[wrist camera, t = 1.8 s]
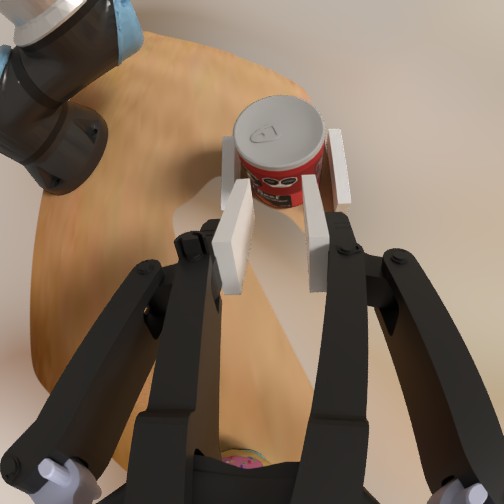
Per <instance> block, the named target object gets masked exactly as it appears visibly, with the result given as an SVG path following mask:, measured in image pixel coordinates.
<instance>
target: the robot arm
mask: <svg viewBox="0 0 504 504" xmlns="http://www.w3.org/2000/svg"><path fill="white" fill-rule="evenodd" d="M0 12H1V13H2V14H3V15H4V16H5V17H7V18H8V19H9V20H10V21H11V22H12V23H14V24H15V33H14V43H15V44H16V45H17V46H16V47H15V48H14V49H11V46H8V45H2V46H0V153H2V154H4V155H5V156H7V157H9V158H11V159H13V160H15V161H17V162H18V163H20V164H22V165H23V166H25V168H26V169H27V170H28V172H29V173H30V174H31V176H32V177H33V178H34V179H35V181H36V182H37V183H38V184H39V186H40V187H42V188H43V189H44V190H46V191H48V192H50V193H52V194H55V195H63V194H66V193H69V192H71V191H73V190H74V189H76V188H77V187H79V186H80V185H81V184H82V183H83V182H84V181H85V180H86V179H87V178H88V177H89V176H90V175H91V173H92V172H93V171H94V169H95V168H96V166H97V165H98V163H99V161H100V159H101V157H102V155H103V153H104V150H105V147H106V144H107V138H108V128H107V124H106V122H105V120H104V119H103V118H102V117H101V116H100V115H99V114H98V113H97V112H96V111H94V110H93V109H91V108H88V107H85V106H82V105H79V104H76V103H73V102H70V101H68V100H69V99H70V98H71V97H73V96H74V95H75V94H77V93H78V92H79V91H81V90H82V89H83V88H85V87H86V86H87V85H89V84H90V83H92V82H93V81H95V80H96V79H97V78H99V77H100V76H102V75H103V74H105V73H106V72H108V71H109V70H111V69H113V68H114V67H116V66H119V65H120V64H121V63H122V61H124V60H125V59H127V58H128V57H130V56H131V55H133V54H135V53H136V52H138V50H140V48H141V47H142V45H143V42H144V36H143V33H142V29H141V27H140V24H139V21H138V18H137V16H136V14H135V11H134V9H133V6H132V4H131V3H130V0H0ZM302 191H303V211H304V225H305V236H306V247H307V260H308V273H309V287H310V293H311V292H327V296H326V306H325V315H324V324H323V332H322V341H321V348H320V356H319V363H318V370H317V377H316V383H315V390H314V396H313V402H312V408H311V413H310V417H309V421H308V426H307V431H306V436H305V441H304V446H303V450H302V455H301V460H300V462H283V463H279V464H274V465H268V466H263V467H257V468H251V469H244V468H240V467H237V466H234V465H231V464H228V463H225V462H223V461H222V456H221V451H220V447H219V380H220V342H221V313H222V300H221V296H220V291H221V287H222V288H223V292H224V295H241V293H242V287H243V282H244V277H245V272H246V266H247V261H248V256H249V250H250V245H251V240H252V234H253V229H254V224H255V214H254V207H253V199H252V192H251V185H250V178H248V179H236V182H235V184H234V187H233V189H232V192H231V194H230V197H229V199H228V202H227V204H226V207H225V209H224V212H223V215H222V217H221V219H210V220H208V221H207V222H206V223H204V224H203V225H202V227H201V229H200V231H190V232H186V233H184V234H181V235H179V236H178V237H177V238H176V239H175V241H174V244H175V248H176V251H177V254H178V257H179V260H178V263H176V264H173V265H169V266H165V267H162V266H161V264H160V262H159V261H158V260H153V259H151V260H145V261H142V262H141V263H139V264H137V265H136V266H135V267H134V268H133V269H132V271H131V272H130V273H129V275H128V276H127V278H126V279H125V280H124V282H123V283H122V284H121V286H120V287H119V289H118V290H117V291H116V293H115V294H114V296H113V297H112V298H111V300H110V301H109V303H108V304H107V306H106V307H105V308H104V310H103V311H102V313H101V314H100V316H99V317H98V319H97V320H96V322H95V323H94V325H93V326H92V328H91V329H90V331H89V332H88V334H87V335H86V337H85V338H84V340H83V341H82V343H81V345H80V346H79V348H78V349H77V351H76V352H75V354H74V356H73V357H72V359H71V360H70V362H69V364H68V365H67V367H66V369H65V370H64V372H63V374H62V375H61V377H60V379H59V380H58V382H57V384H56V385H55V387H54V389H53V391H52V392H51V394H50V396H49V398H48V399H47V401H46V403H45V405H44V407H43V409H42V410H41V412H40V414H39V416H38V418H37V420H36V421H35V422H34V423H33V424H32V425H31V426H30V427H29V428H28V429H27V430H26V431H25V433H23V434H22V435H21V437H19V439H18V440H17V441H16V442H15V443H14V444H13V445H12V446H11V447H10V448H9V449H8V450H7V451H6V452H5V454H4V455H3V457H2V459H1V463H0V472H1V475H2V478H3V479H4V480H5V482H6V483H7V484H9V485H11V486H13V487H15V488H17V489H19V490H21V491H23V492H25V493H27V494H28V495H29V496H30V497H31V498H32V500H33V501H34V502H35V504H92V502H93V500H96V499H98V498H99V497H100V496H101V488H100V487H99V486H98V485H97V482H96V481H97V480H98V479H99V477H100V476H101V475H102V473H103V472H104V470H105V469H106V467H107V466H108V464H109V462H110V460H111V458H112V456H113V454H114V451H115V449H116V447H117V444H118V442H119V440H120V437H121V435H122V433H123V430H124V428H125V426H126V423H127V421H128V419H129V417H130V414H131V412H132V410H133V408H134V405H135V403H136V401H137V399H138V397H139V394H140V392H141V390H142V388H143V386H144V383H145V381H146V379H147V377H148V375H149V373H150V371H151V368H152V366H153V364H154V362H155V360H156V363H155V368H154V374H153V379H152V385H151V391H150V396H149V403H148V407H147V409H146V411H143V412H140V413H139V414H138V415H137V417H136V420H135V424H134V430H133V437H132V443H131V450H130V457H129V464H128V472H127V480H126V483H125V484H124V485H122V486H121V487H119V488H118V489H117V490H115V491H114V492H112V493H111V494H110V495H108V496H107V497H105V498H104V499H103V500H101V501H99V502H98V503H96V504H380V503H379V502H378V501H377V500H376V499H375V498H374V497H373V496H372V495H371V494H370V493H369V492H368V491H367V490H366V489H365V487H363V482H364V476H365V467H366V459H367V448H368V438H369V422H368V421H367V419H366V405H367V386H368V314H367V313H368V312H367V306H372V307H374V310H375V312H376V315H377V318H378V320H379V323H380V326H381V329H382V331H383V334H384V337H385V340H386V342H387V346H388V348H389V351H390V354H391V357H392V360H393V363H394V366H395V369H396V372H397V376H398V379H399V382H400V385H401V388H402V391H403V395H404V399H405V402H406V405H407V409H408V412H409V416H410V420H411V423H412V427H413V431H414V435H415V439H416V443H417V447H418V451H419V455H420V460H421V464H422V468H423V472H424V475H425V479H426V481H427V484H428V486H429V489H430V491H431V493H432V496H431V498H430V499H429V501H428V502H427V504H504V436H503V433H502V430H501V427H500V424H499V421H498V418H497V416H496V413H495V411H494V408H493V405H492V403H491V400H490V398H489V395H488V393H487V391H486V388H485V386H484V384H483V381H482V379H481V376H480V375H479V372H478V370H477V368H476V366H475V364H474V361H473V359H472V357H471V355H470V353H469V351H468V349H467V347H466V345H465V343H464V341H463V339H462V337H461V335H460V333H459V331H458V329H457V327H456V326H455V324H454V322H453V320H452V318H451V316H450V315H449V313H448V311H447V309H446V307H445V306H444V304H443V302H442V301H441V299H440V297H439V295H438V294H437V292H436V290H435V289H434V287H433V285H432V284H431V282H430V280H429V279H428V277H427V276H426V274H425V272H424V271H423V269H422V268H421V266H420V265H419V263H418V262H417V260H416V259H415V257H414V256H413V255H412V254H411V253H410V252H408V251H406V250H403V249H399V248H397V249H396V248H393V249H389V250H387V251H386V252H384V255H383V257H378V256H372V255H369V254H367V253H364V250H363V248H362V246H360V245H359V244H358V243H356V240H355V237H354V234H353V231H352V228H351V225H350V222H349V219H348V217H347V216H346V215H345V214H344V213H343V212H324V210H323V205H322V201H321V197H320V192H319V188H318V184H317V180H316V176H315V174H313V175H302ZM145 308H147V310H146V311H145V313H144V310H145Z"/></svg>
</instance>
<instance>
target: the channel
mask: <svg viewBox="0 0 504 504" xmlns="http://www.w3.org/2000/svg"><path fill="white" fill-rule="evenodd" d="M326 145H327V152H328V159H329V167H330V176H331V185H332V194H333V204H334V212H343V213H344V214H346V213H347V212H348V210H349V207H350V205H351V196H350V188H349V180H348V173H347V166H346V159H345V153H344V147H343V141H342V135H341V130H340V129H328V136H327V144H326ZM236 179H241V160H240V158H239V156H238V153H237V151H236V148H235V144H234V140H233V136H225V137H223V143H222V179H221V211H222V212H224V209H225V207H226V204H227V202H228V199H229V197H230V194H231V192H232V189H233V187H234V184H235V182H236Z"/></svg>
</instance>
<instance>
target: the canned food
mask: <svg viewBox="0 0 504 504" xmlns="http://www.w3.org/2000/svg"><path fill="white" fill-rule="evenodd" d="M233 140H234V144H235V148H236V151H237V153H238V156H239V158H240V160H241V163H242V165H243V167H244V169H245V172H246V174H247V176H248V178H250V183H251V185H252V188H253V190H254V192H255V193H256V195H257V196H258V197H259V198H260V199H261V200H262V201H264V202H265V203H267V204H269V205H271V206H275V207H279V208H290V207H295V206H298V205H300V204H302V203H303V191H302V175H313V174H315V176H316V180H317V184H318V185H319V182H320V176H321V169H322V161H323V153H324V145H325V125H324V120H323V118H322V116H321V114H320V113H319V111H318V110H317V109H316V108H315V107H314V106H313V105H312V104H310V103H309V102H307V101H305V100H303V99H300V98H297V97H294V96H288V95H276V96H269V97H266V98H262V99H260V100H258V101H256V102H254V103H252V104H251V105H249V106H248V107H247V108H246V109H244V110H243V111H242V112H241V114H240V115H239V117H238V118H237V120H236V122H235V124H234V129H233Z"/></svg>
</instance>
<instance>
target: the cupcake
mask: <svg viewBox="0 0 504 504" xmlns="http://www.w3.org/2000/svg"><path fill="white" fill-rule="evenodd" d="M221 456H222V461H223V462H225V463H228V464H231V465H234V466H237V467H240V468H244V469H251V468H257V467H263V466H268V465H272V464H271V463H270V462H268V461H267V460H266V459H265V458H264V457H263V456H262V455H261V454H260V453H258V452H256V451H253V450H236V449H232V450H228V451H225V452H221Z"/></svg>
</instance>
